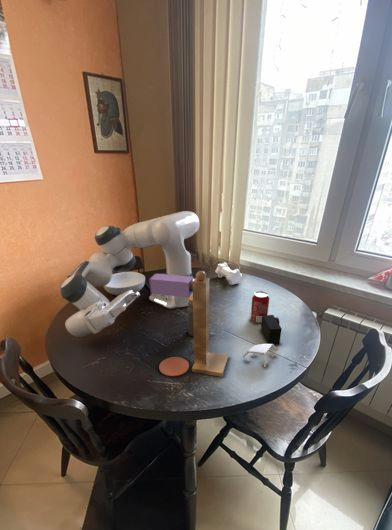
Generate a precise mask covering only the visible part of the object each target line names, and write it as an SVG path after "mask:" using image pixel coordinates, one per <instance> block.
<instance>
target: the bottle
mask: <svg viewBox="0 0 392 530" xmlns="http://www.w3.org/2000/svg"><path fill="white" fill-rule="evenodd" d="M188 299H189V302H188V305H189V306H187V309H186V310H187V332H188V335H190V336H191V337H194V324H193V295H192V296H190V297H189V298H188Z"/></svg>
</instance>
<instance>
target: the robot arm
mask: <svg viewBox="0 0 392 530" xmlns="http://www.w3.org/2000/svg"><path fill="white" fill-rule="evenodd" d="M199 229H200V219H199V217H198V215H197V214H196V213H195V212H193V211H189V210H182V211H178V212H174V213H170V214H167V215H163V216H159V217H155V218H151V219H147V220H144V221H139V222H136V223H134V224H131V225H130V226H129V225H128V226H127V227H126V228H125V229H124V230H122V228H121V227H116V226H113V225H105V226H103V227H101V228H99V229H98V230H97V231H96V233H95V235H94V240H95V242H96V243H95V244H97V246H98V247H99V248H100V250H101V251H102V252H94V253H93V254H92V255H91V256H90V257H89V259H88V260H84V261H82V262H81V263H80V264H79V265H78V266H76V268H75V269H74V270H73V271H72V272H71V274H70V275H69V277H68V278H66V279H65V280H64V281H63V282H62V284H61V285H60V289H59V290H60V295H61V298H62V299H64V300H66V301H67V302H69V303H71V304H72V306H74V307H75V308H76V309H78V310H79V311H77V312H75V313H74V314H72V315H70V316H69V317H68V318H67V319H66V320H65V322H64V327H65V329H66V331H67V332H68V333H69V334H70V335H71V336H73V337H75V338H82V337H84V336H85V337H86V336H88V335H91V334H93V335H96V334H98V333H100V332H101V331H102V330H104V329H106V328H107V327H109V326H112V325H113V324H114V323H115V321H116V318H117V317H118V316H119V315H120V314H121V313H122V312H125V311H126V310H127V309H128V307H129V306H130V305H131V304H132V303H133V302H134V301H135V300H136V299H139V298H140V296H141V294H140V291H137V292H135V293H134V292H133V291H132V290H128V291H127V292H125V293H123V294H121V295H119V296H116V297H115V298H113V300H111V301H110V300H109V299H108V298H107V297H106V296H105V295H104V294H103V293H102V292H101V291H99V290H98V289H97V288H102V287H103V286H105V285H107V284H108V283H109V282H110V280H111V278H112V275H113V272H117V273H121V272H129V271H131V270H132V269H133V268H134V267H135V266H136V263H137V259H136V257H135V254H134V253H133V252H132V251H131V249H144V248H150V247H151V248H152V247H156V246H160V247H161V249H162V252H163V254H164V258H165V266H166V267H165V269H166V270H165V271H164V272H163V273H162V274H167V275H178V276H190V277H193V271H192V256H191V253H190V252H189V251H188V250H186V247H185V240H187V239H189V238H191V237H192V236H194V235H195V234H196V233H197V232H198V231H199ZM194 279H195V278H193V281H194ZM144 286H146V288H148V290H150V284H148V283H147V282H145V284H144ZM103 288H104V287H103ZM192 295H193V293H192V294H191V295H190V296H192ZM188 298H189V297H179V296H170V295H160V294H151V293H150V295H149V297H148V300H149V301H150V302H153V303H154V304H158V305H160V306H162V307H165V308H166V309H176V308H185V307H189V305H188V302H189V299H188Z"/></svg>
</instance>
